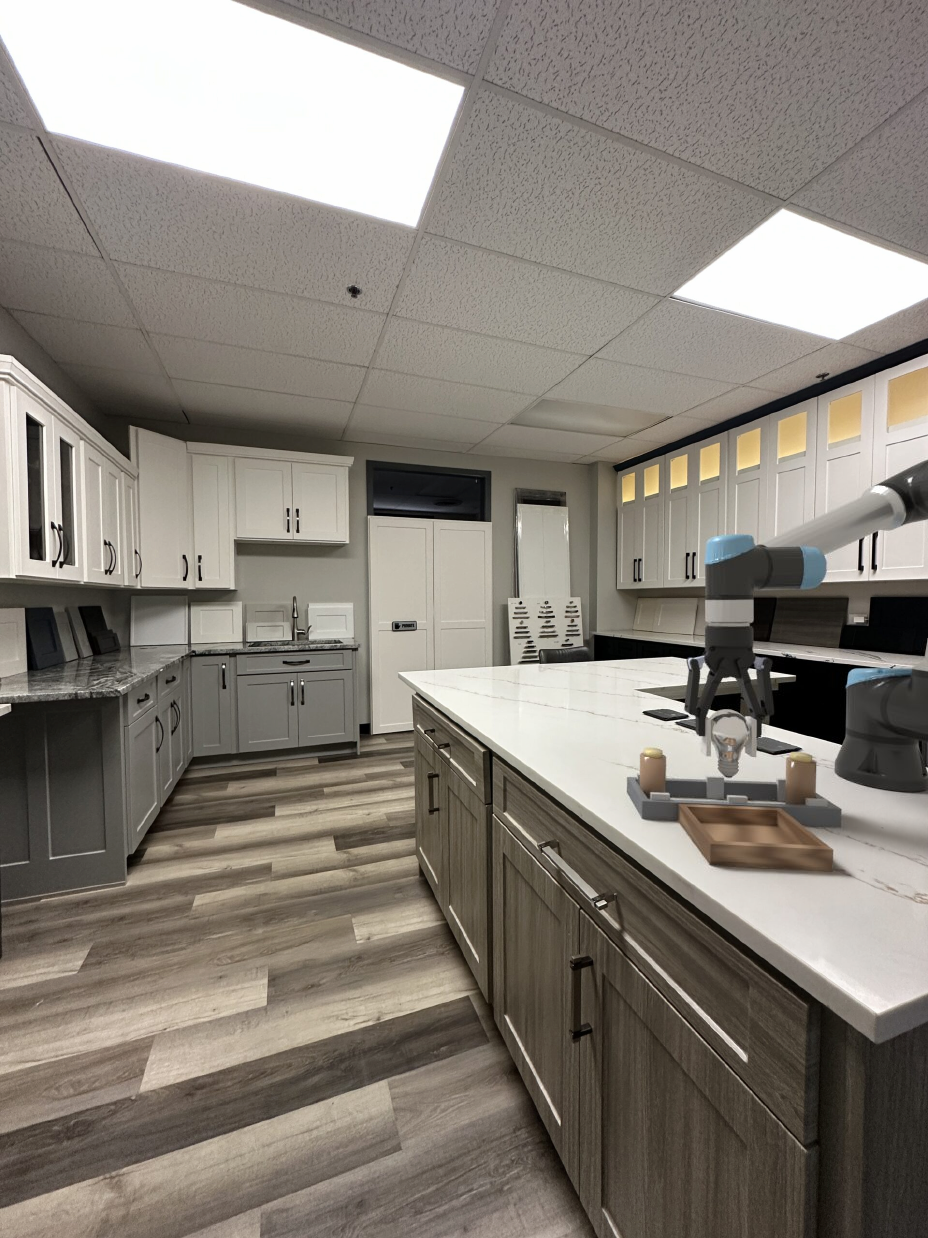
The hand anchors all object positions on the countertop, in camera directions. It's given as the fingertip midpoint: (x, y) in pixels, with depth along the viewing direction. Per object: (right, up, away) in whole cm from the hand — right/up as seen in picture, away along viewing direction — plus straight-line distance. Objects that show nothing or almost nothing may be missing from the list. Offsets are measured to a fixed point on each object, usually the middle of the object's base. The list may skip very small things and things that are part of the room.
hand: (728, 754), depth 90 cm
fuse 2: (+12, -10, -1) cm, 16 cm away
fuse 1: (-13, -10, +2) cm, 16 cm away
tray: (-4, -10, -13) cm, 17 cm away
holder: (0, -10, 0) cm, 10 cm away
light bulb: (0, -4, 0) cm, 4 cm away
